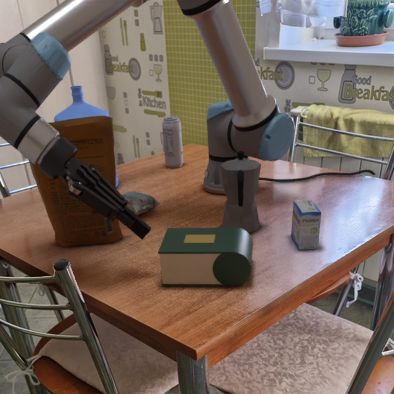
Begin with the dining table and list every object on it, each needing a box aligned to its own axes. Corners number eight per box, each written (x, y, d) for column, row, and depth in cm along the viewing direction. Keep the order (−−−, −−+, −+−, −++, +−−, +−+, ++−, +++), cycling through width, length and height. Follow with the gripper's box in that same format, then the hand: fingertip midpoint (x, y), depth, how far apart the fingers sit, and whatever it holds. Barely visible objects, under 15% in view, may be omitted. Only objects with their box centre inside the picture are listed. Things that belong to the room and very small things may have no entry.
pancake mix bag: (129, 244, 122) (111, 117, 106) (47, 252, 121) (17, 124, 105) (129, 233, 127) (112, 110, 111) (51, 240, 126) (22, 117, 110)
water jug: (84, 178, 167) (67, 81, 150) (127, 181, 161) (114, 81, 145) (57, 194, 155) (35, 91, 139) (103, 198, 150) (85, 92, 134)
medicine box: (290, 236, 121) (292, 200, 116) (309, 235, 121) (312, 198, 116) (298, 250, 114) (301, 212, 109) (318, 248, 114) (322, 211, 109)
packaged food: (138, 221, 133) (136, 202, 130) (107, 212, 140) (105, 194, 137) (161, 211, 139) (159, 193, 136) (131, 203, 145) (129, 186, 142)
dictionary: (252, 260, 112) (252, 226, 107) (251, 286, 102) (251, 251, 97) (170, 260, 114) (167, 227, 109) (161, 286, 104) (157, 251, 100)
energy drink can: (186, 166, 172) (183, 117, 163) (170, 169, 170) (166, 120, 161) (178, 162, 176) (174, 114, 168) (162, 165, 174) (158, 117, 165)
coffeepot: (222, 217, 133) (220, 144, 122) (259, 216, 132) (260, 142, 121) (220, 242, 120) (218, 162, 110) (261, 241, 119) (262, 161, 109)
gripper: (50, 156, 104) (141, 233, 111) (26, 176, 93) (129, 260, 101) (70, 127, 100) (163, 209, 108) (48, 144, 90) (152, 234, 97)
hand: (146, 233), depth 104 cm, fingers closed
